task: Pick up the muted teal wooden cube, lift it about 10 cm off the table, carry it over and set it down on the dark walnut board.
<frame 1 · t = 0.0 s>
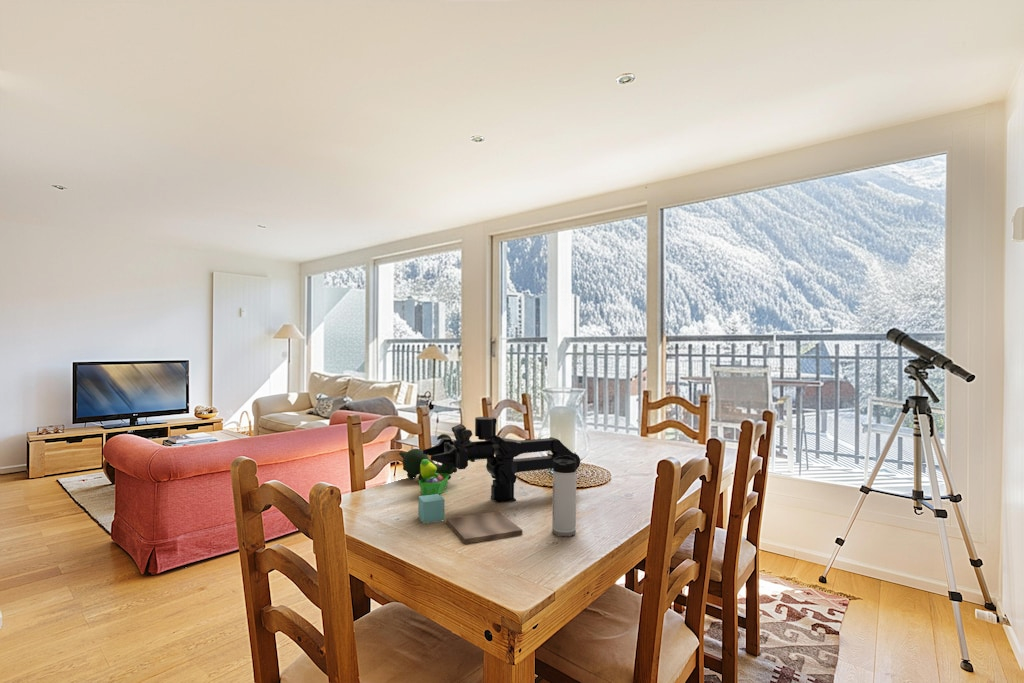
hand: (426, 454, 151), 17 cm above the table, tool horizontal, fingers open, 9 cm apart
travel mug: (564, 533, 134), on the table
fruit basket: (432, 493, 168), on the table
walnut board: (483, 528, 136), on the table
toy figurine: (427, 481, 182), on the table
teal cube: (431, 518, 143), on the table
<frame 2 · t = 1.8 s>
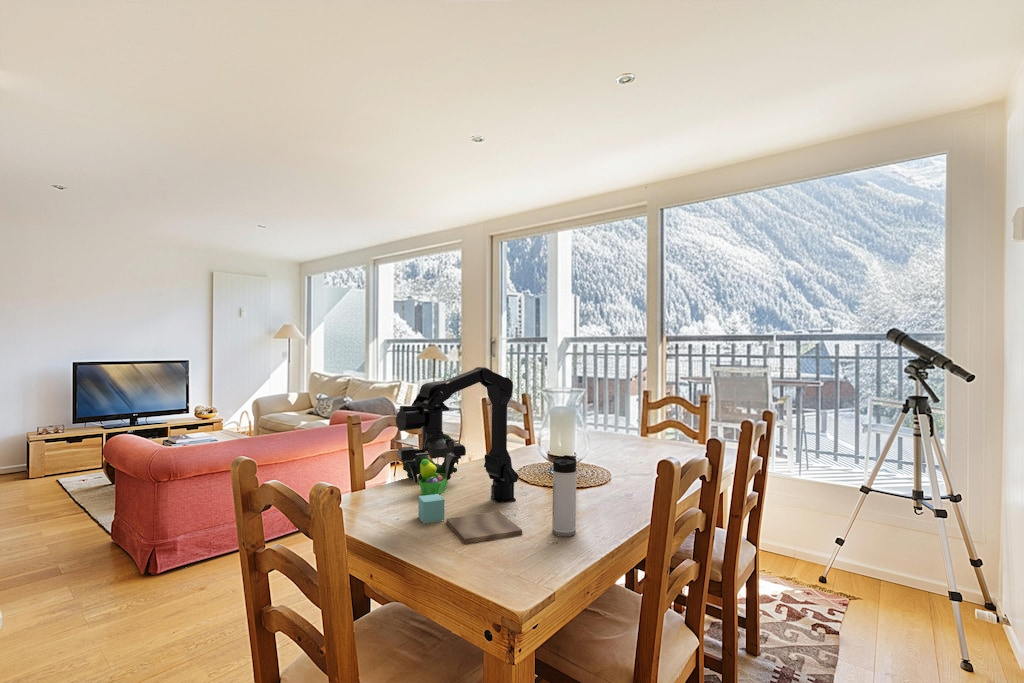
hand: (431, 481, 143), 11 cm above the table, tool pointing down, fingers open, 9 cm apart
nothing on the table moved.
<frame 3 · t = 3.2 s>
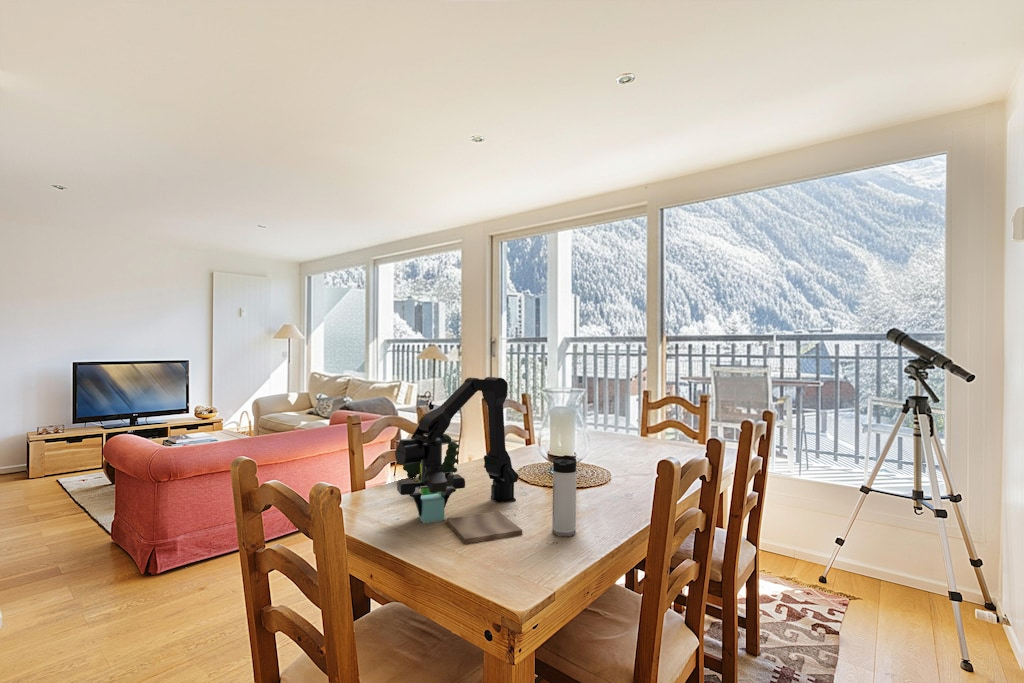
hand: (431, 514, 143), 1 cm above the table, tool pointing down, fingers closed on teal cube, 6 cm apart
teal cube: (431, 518, 143), on the table, touching gripper
everything else where it was.
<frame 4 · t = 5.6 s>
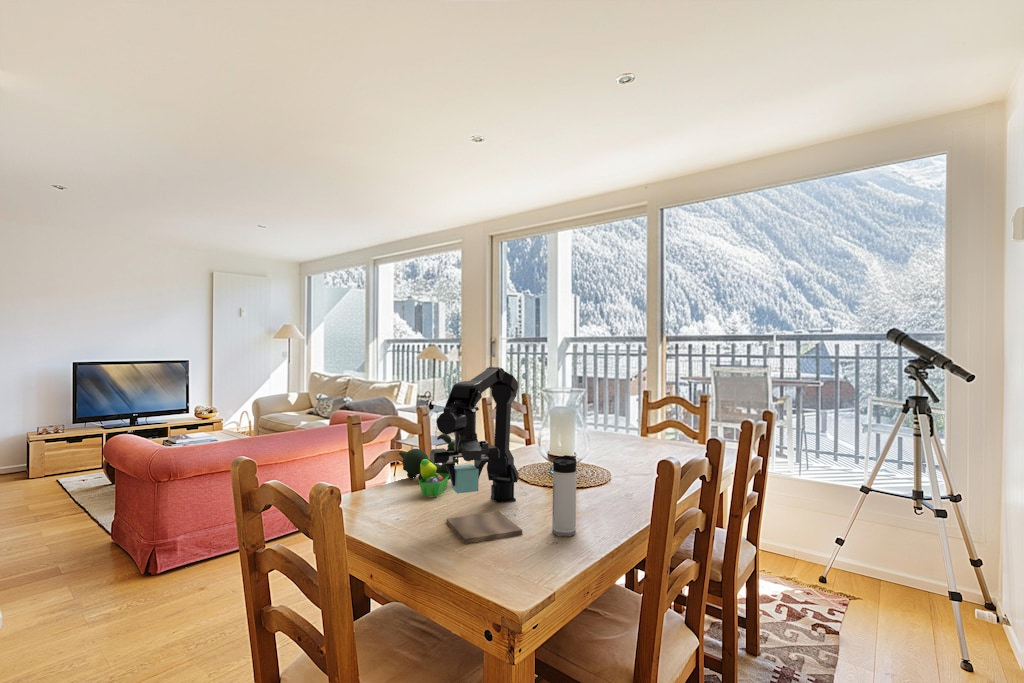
hand: (464, 484, 138), 11 cm above the table, tool pointing down, fingers closed on teal cube, 6 cm apart
teal cube: (464, 489, 138), point 10 cm above the table, touching gripper
everything else where it was.
when the fingers open (3 cm above the table, at t = 8.4 s): teal cube stays where it is, resting on walnut board.
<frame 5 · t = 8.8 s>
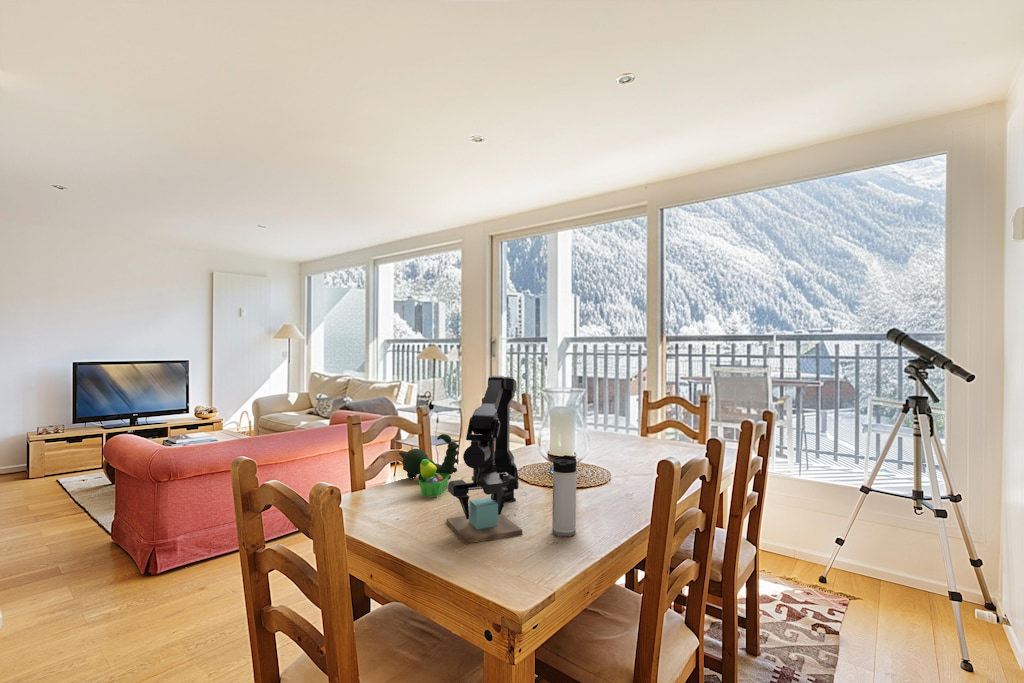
hand: (483, 516, 136), 3 cm above the table, tool pointing down, fingers open, 9 cm apart
teal cube: (483, 524, 136), point 1 cm above the table, touching walnut board
everything else where it was.
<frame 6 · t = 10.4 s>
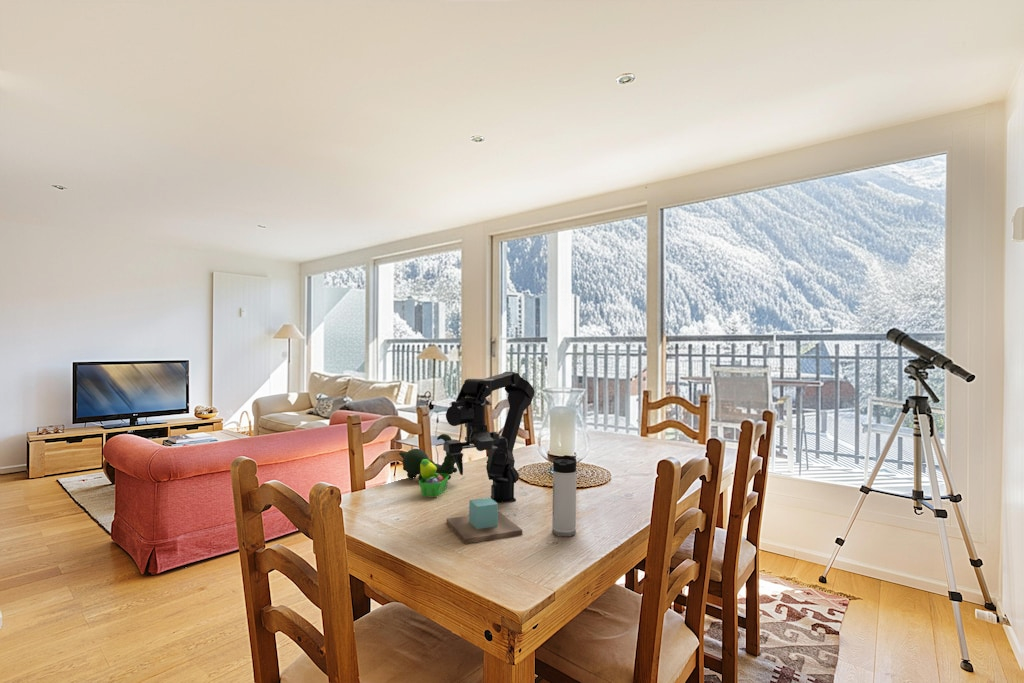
hand: (475, 472, 149), 12 cm above the table, tool pointing down, fingers open, 9 cm apart
nothing on the table moved.
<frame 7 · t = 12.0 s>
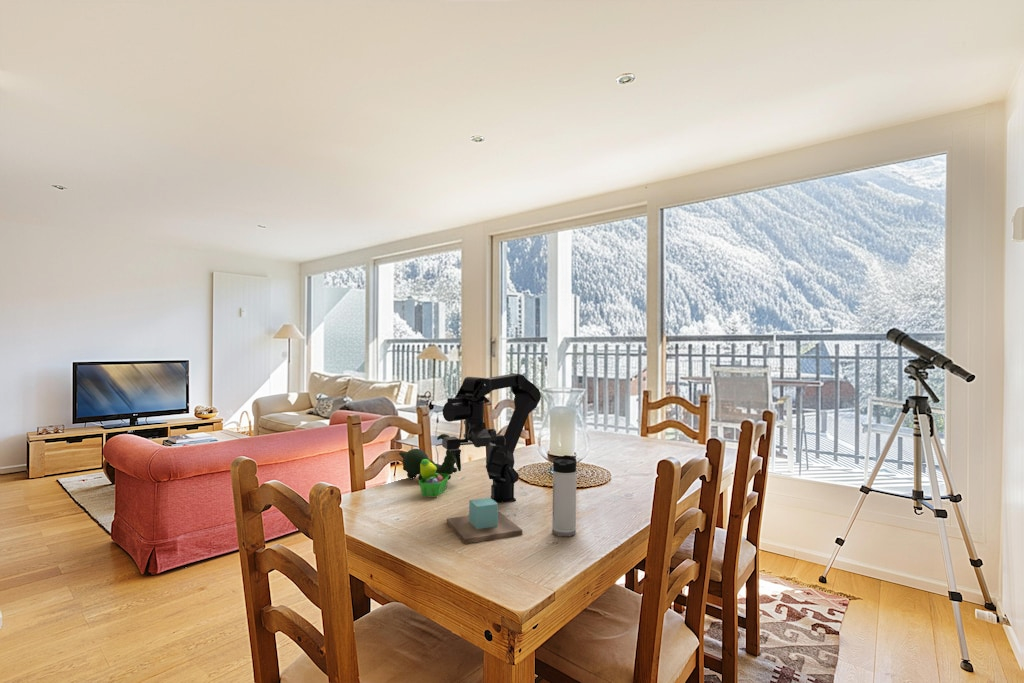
hand: (473, 469, 152), 12 cm above the table, tool pointing down, fingers open, 9 cm apart
nothing on the table moved.
at the end: teal cube inside the target area on the walnut board (0.0 cm from its centre), point 1.2 cm above the walnut board's base; teal cube tilted 0°; the gripper is holding nothing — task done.
